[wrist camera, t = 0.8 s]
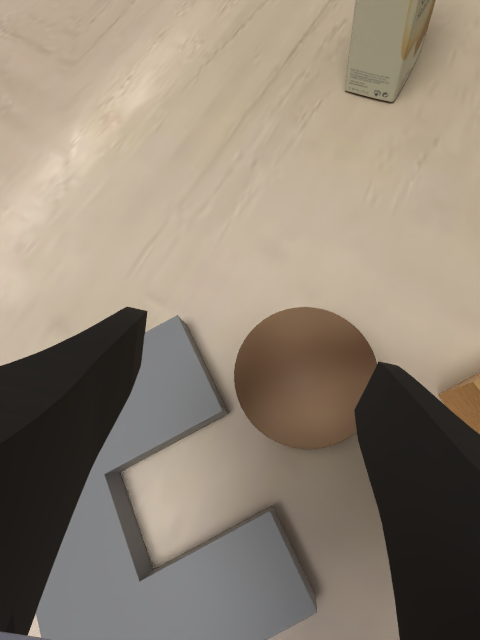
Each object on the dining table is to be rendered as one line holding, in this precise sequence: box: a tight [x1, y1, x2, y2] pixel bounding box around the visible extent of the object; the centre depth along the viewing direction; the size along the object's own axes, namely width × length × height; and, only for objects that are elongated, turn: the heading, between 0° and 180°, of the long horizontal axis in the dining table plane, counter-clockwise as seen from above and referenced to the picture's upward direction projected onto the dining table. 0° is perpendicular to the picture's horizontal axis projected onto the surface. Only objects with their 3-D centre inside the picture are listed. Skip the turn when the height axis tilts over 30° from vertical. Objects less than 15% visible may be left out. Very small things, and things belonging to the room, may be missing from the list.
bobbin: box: [234, 307, 377, 449], centre depth 21 cm, size 7×7×6 cm
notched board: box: [36, 315, 317, 640], centre depth 23 cm, size 18×14×2 cm
